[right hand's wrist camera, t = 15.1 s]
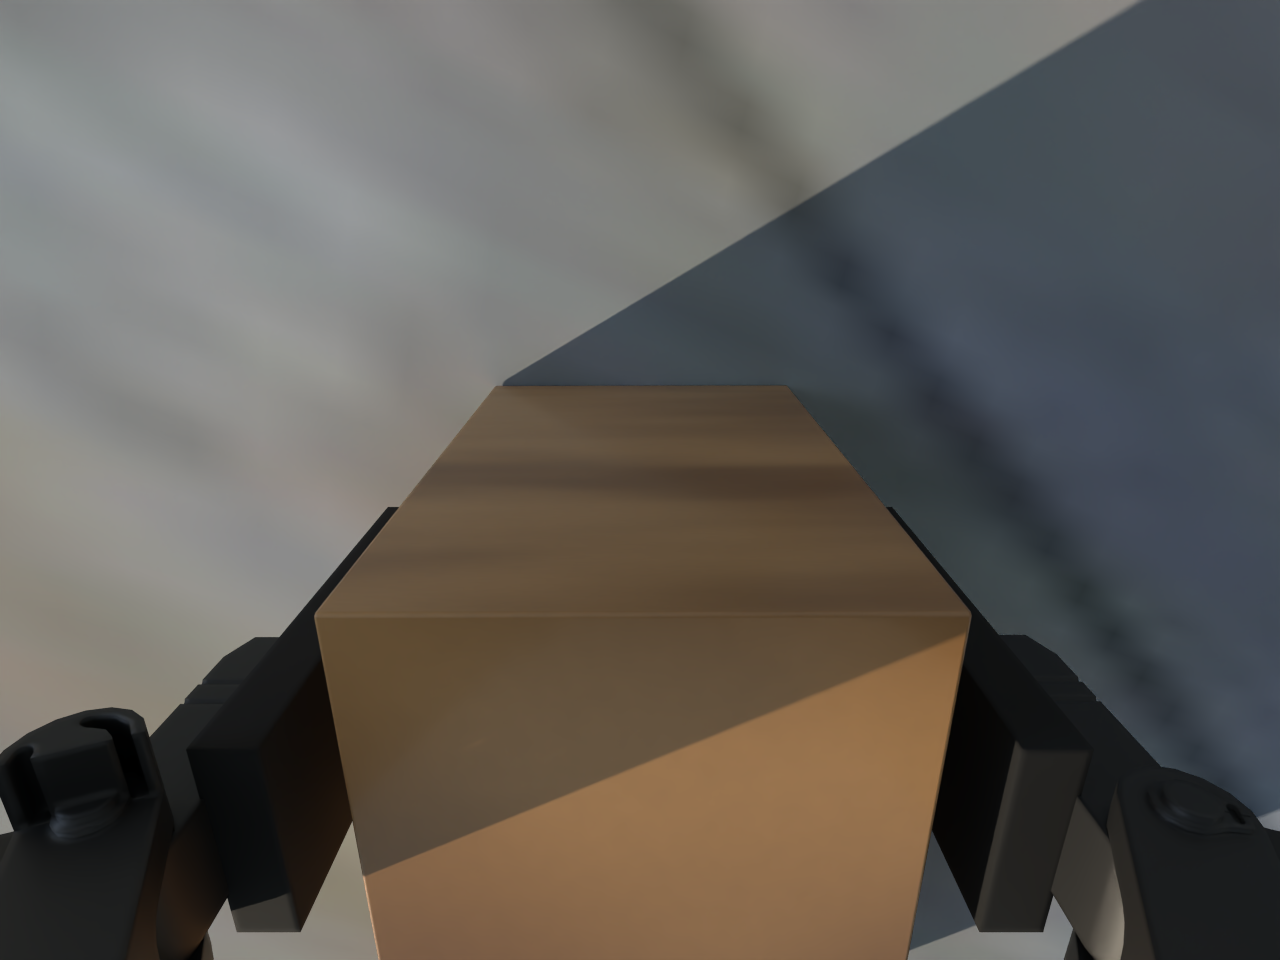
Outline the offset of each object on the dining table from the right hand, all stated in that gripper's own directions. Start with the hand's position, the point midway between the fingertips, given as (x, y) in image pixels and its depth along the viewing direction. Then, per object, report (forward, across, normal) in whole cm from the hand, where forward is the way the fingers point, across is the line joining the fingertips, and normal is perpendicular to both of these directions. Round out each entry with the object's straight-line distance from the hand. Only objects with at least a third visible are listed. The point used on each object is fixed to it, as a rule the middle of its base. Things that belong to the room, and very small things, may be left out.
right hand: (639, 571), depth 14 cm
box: (+3, 0, -7) cm, 7 cm away
